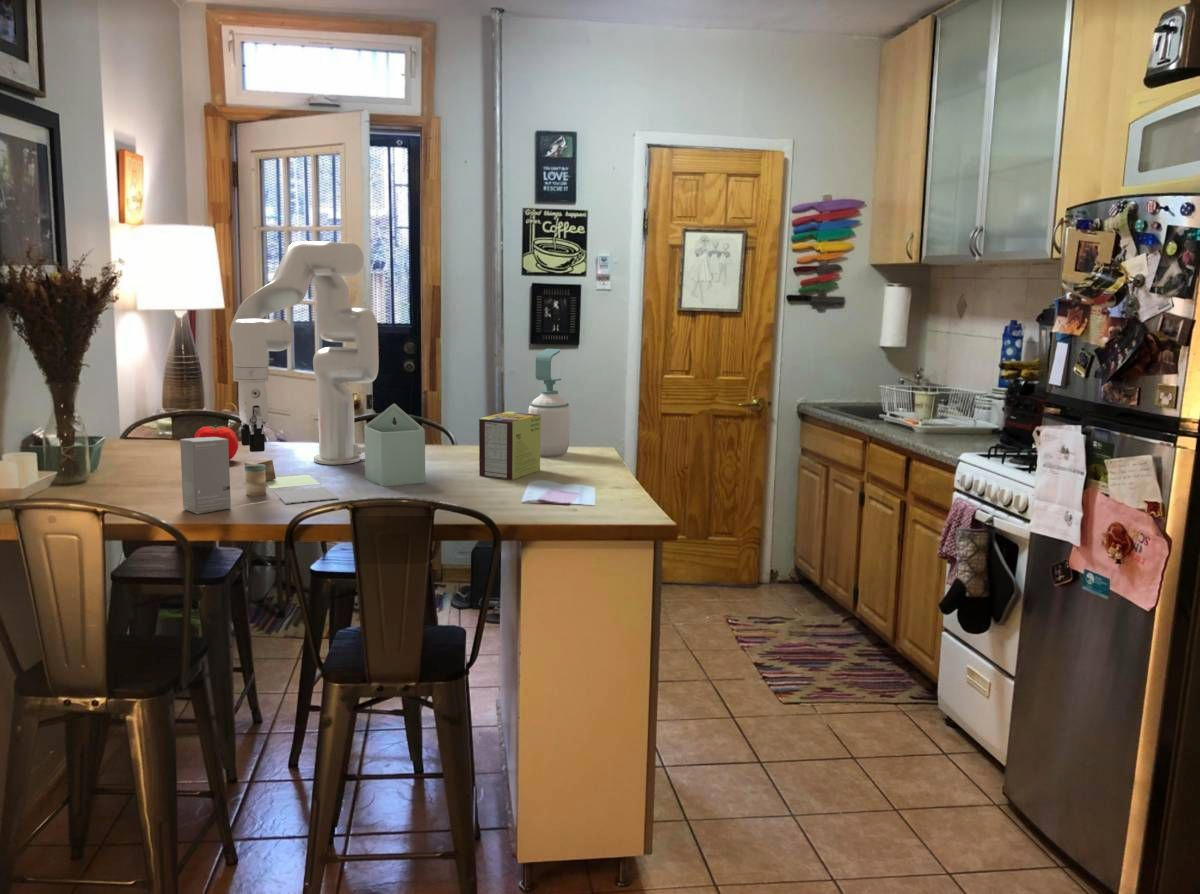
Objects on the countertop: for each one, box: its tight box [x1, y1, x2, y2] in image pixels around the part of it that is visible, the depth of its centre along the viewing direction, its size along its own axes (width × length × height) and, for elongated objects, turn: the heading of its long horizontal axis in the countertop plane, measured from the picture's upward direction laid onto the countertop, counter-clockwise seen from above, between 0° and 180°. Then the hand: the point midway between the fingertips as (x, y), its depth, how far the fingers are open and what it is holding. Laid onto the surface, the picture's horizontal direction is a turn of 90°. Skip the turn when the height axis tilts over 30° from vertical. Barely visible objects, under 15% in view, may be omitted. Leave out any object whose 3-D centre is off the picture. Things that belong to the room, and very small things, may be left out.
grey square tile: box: [274, 486, 339, 505], centre depth 221 cm, size 12×12×1 cm
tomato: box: [193, 424, 239, 461], centre depth 257 cm, size 12×12×10 cm
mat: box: [266, 474, 321, 489], centre depth 235 cm, size 12×12×1 cm
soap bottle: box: [527, 348, 571, 458], centre depth 278 cm, size 12×12×31 cm
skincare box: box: [179, 437, 232, 515], centre depth 206 cm, size 8×7×16 cm
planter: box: [364, 403, 426, 487], centre depth 236 cm, size 16×8×20 cm, turn 78°
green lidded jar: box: [244, 464, 267, 497], centre depth 221 cm, size 5×5×7 cm
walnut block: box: [243, 457, 276, 482], centre depth 234 cm, size 5×5×5 cm
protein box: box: [478, 411, 541, 481], centre depth 252 cm, size 10×15×16 cm
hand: (253, 448), depth 219 cm, fingers open, 9 cm apart
